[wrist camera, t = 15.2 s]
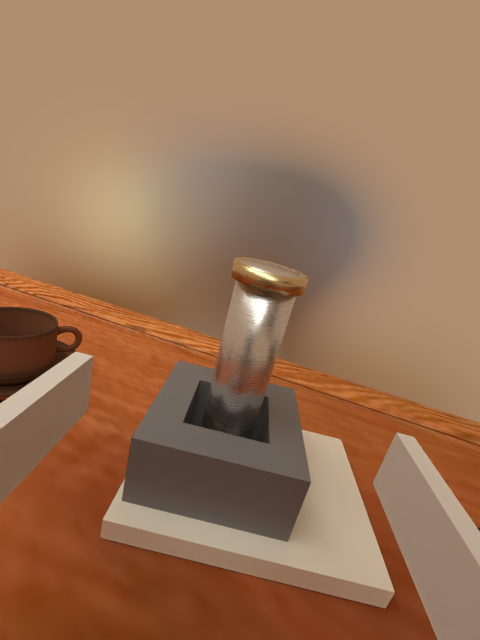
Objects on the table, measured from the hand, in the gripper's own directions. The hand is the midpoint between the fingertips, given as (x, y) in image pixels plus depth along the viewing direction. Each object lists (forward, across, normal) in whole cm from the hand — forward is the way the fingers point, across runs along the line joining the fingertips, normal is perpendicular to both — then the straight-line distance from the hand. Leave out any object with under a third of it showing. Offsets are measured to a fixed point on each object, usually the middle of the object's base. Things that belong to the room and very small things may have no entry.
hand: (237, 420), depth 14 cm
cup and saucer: (+16, -22, -12) cm, 30 cm away
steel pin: (+9, 0, -10) cm, 14 cm away
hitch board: (+9, +3, -12) cm, 16 cm away
